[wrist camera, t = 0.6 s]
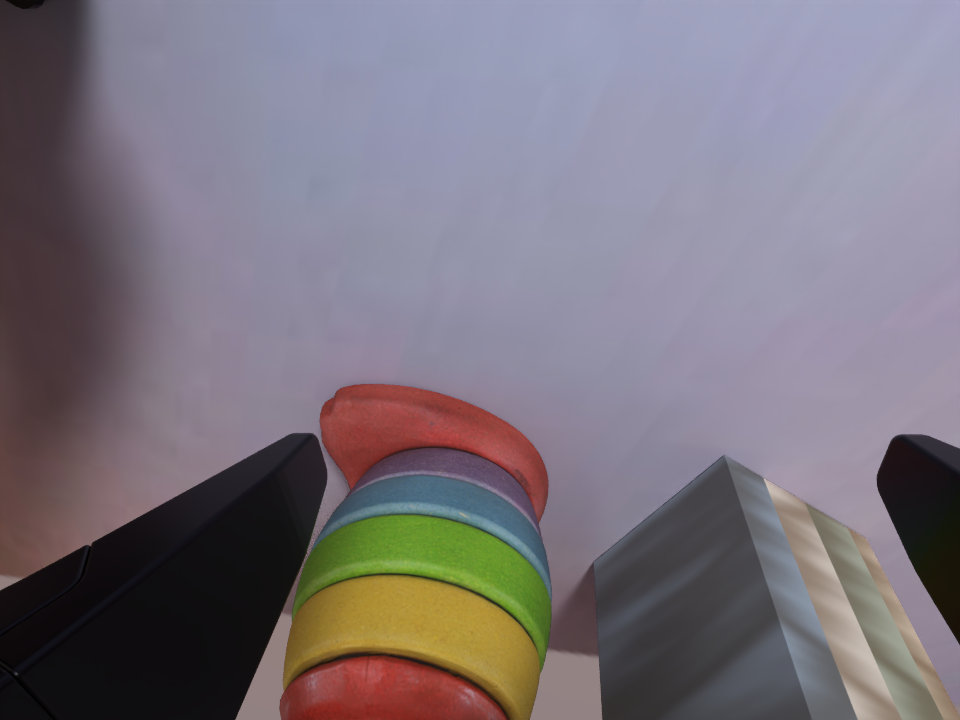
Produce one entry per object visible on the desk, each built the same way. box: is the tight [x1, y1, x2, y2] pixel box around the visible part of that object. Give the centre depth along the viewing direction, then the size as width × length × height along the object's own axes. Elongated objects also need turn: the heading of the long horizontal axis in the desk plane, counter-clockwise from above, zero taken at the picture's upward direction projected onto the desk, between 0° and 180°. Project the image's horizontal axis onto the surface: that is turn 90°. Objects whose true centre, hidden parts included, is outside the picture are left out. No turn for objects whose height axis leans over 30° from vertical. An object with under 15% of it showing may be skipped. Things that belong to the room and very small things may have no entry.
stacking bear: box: [280, 384, 552, 720], centre depth 21 cm, size 11×10×18 cm
